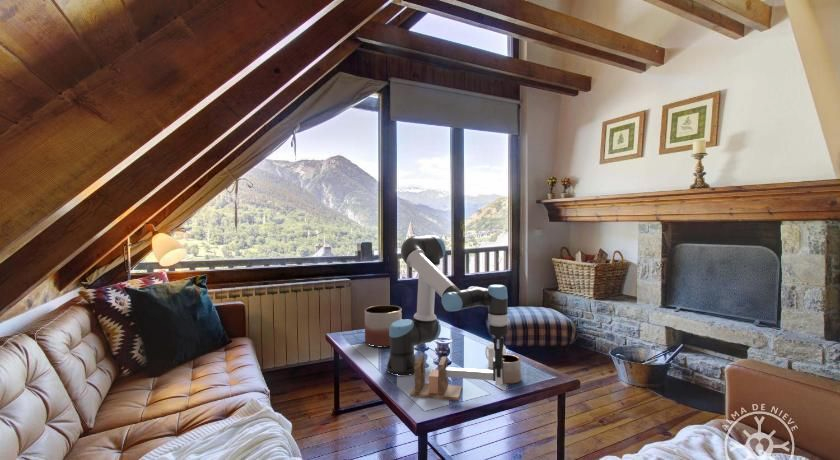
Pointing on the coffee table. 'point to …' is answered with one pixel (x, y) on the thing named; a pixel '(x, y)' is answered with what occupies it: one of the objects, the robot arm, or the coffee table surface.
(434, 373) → the spacer
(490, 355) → the cup
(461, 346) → the coffee table surface
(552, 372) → the coffee table surface
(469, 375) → the hammer
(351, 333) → the coffee table surface
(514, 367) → the planter
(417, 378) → the bracket
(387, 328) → the planter
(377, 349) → the coffee table surface
